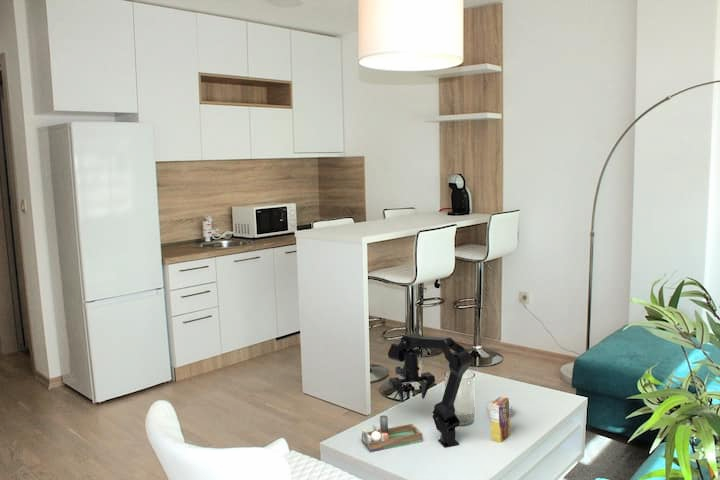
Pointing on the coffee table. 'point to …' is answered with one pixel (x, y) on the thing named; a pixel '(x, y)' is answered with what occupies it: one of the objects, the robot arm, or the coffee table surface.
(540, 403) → the coffee table surface
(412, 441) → the tray
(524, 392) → the coffee table surface
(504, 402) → the candy box
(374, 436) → the ball
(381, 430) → the cylinder
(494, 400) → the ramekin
